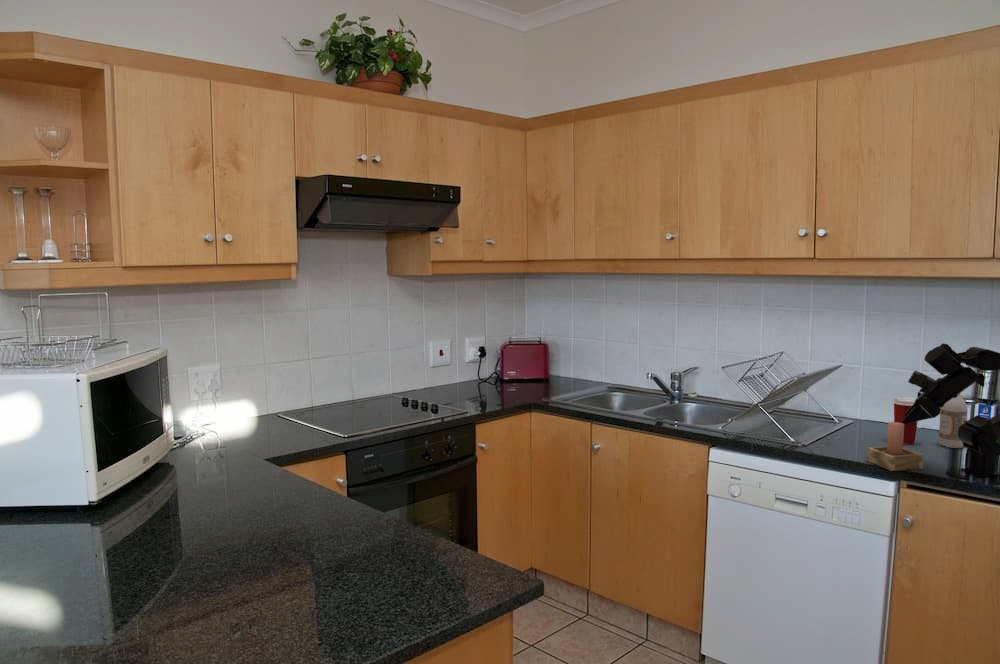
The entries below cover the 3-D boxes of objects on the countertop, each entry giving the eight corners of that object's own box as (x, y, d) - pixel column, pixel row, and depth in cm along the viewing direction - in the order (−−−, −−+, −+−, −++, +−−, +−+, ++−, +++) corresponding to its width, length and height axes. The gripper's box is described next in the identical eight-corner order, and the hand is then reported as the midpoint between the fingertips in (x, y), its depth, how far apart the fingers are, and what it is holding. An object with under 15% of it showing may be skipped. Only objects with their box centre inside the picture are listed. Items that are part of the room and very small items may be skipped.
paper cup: (920, 441, 226) (923, 398, 224) (915, 446, 220) (917, 402, 218) (893, 437, 231) (895, 395, 229) (887, 442, 225) (889, 399, 224)
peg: (905, 466, 200) (907, 425, 199) (892, 467, 200) (895, 425, 198) (894, 462, 204) (897, 421, 203) (882, 463, 203) (884, 422, 202)
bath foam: (933, 443, 223) (937, 381, 221) (949, 441, 225) (953, 380, 223) (953, 449, 217) (957, 385, 214) (970, 447, 219) (974, 384, 216)
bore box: (922, 468, 198) (923, 454, 198) (891, 471, 196) (892, 457, 196) (895, 458, 208) (896, 445, 207) (865, 460, 206) (866, 447, 205)
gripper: (930, 357, 202) (885, 391, 210) (927, 367, 187) (878, 403, 194) (962, 387, 199) (915, 420, 206) (961, 399, 184) (910, 435, 191)
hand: (904, 419), depth 200 cm, fingers open, 9 cm apart
